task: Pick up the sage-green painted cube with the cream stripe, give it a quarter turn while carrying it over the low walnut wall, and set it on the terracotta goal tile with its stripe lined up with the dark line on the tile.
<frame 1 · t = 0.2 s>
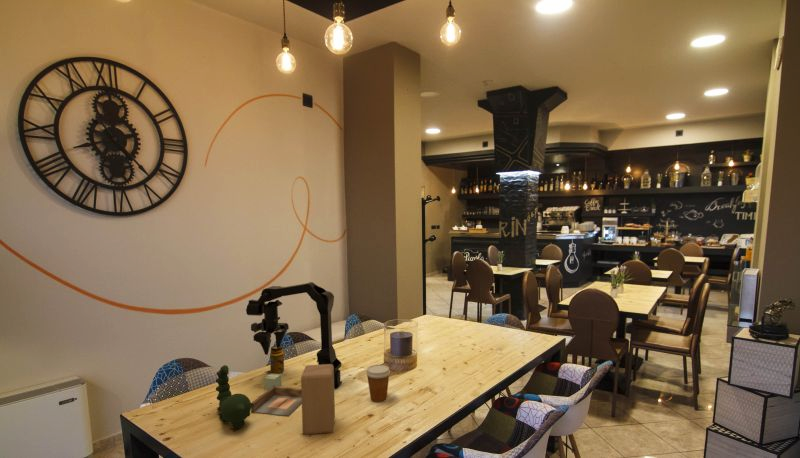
hand: (272, 351, 174), 14 cm above the table, tool pointing down, fingers open, 9 cm apart
wooden block: (319, 427, 136), on the table
disposable coffee cup: (378, 399, 156), on the table
condiment: (275, 373, 185), on the table
cube: (273, 387, 168), on the table
arena: (281, 405, 152), on the table
toy figurine: (232, 421, 141), on the table
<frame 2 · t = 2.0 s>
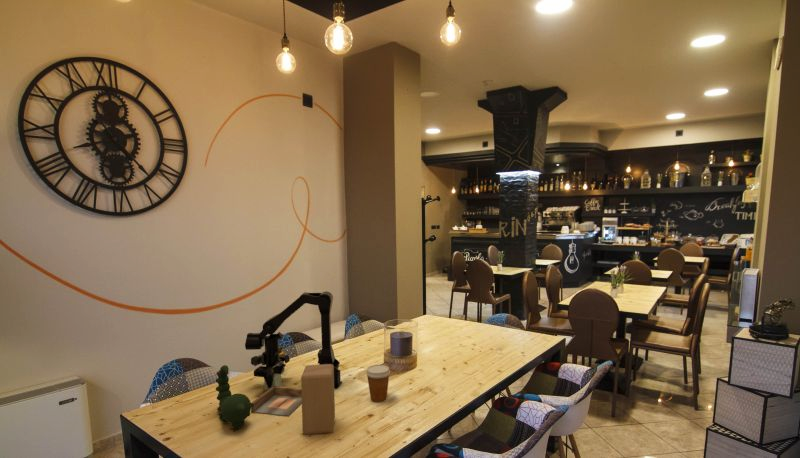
hand: (273, 385, 168), 1 cm above the table, tool pointing down, fingers closed on cube, 5 cm apart
cube: (273, 387, 168), on the table, touching gripper
everything else where it was.
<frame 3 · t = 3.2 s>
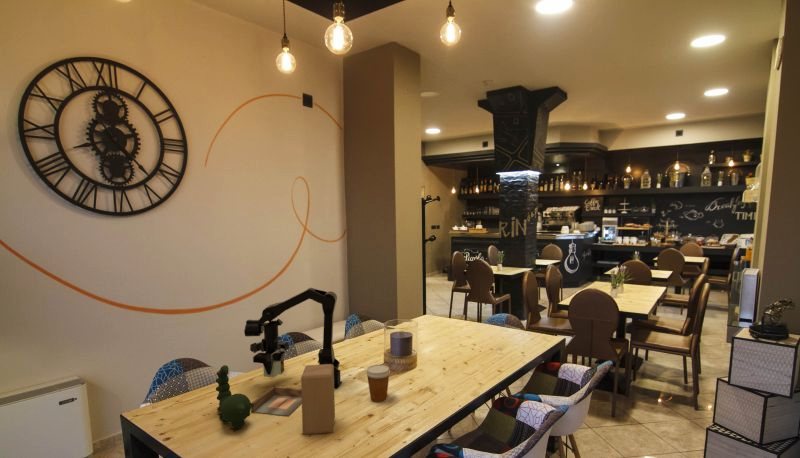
hand: (272, 372, 168), 7 cm above the table, tool pointing down, fingers closed on cube, 5 cm apart
cube: (272, 374, 168), point 6 cm above the table, touching gripper
everything else where it was.
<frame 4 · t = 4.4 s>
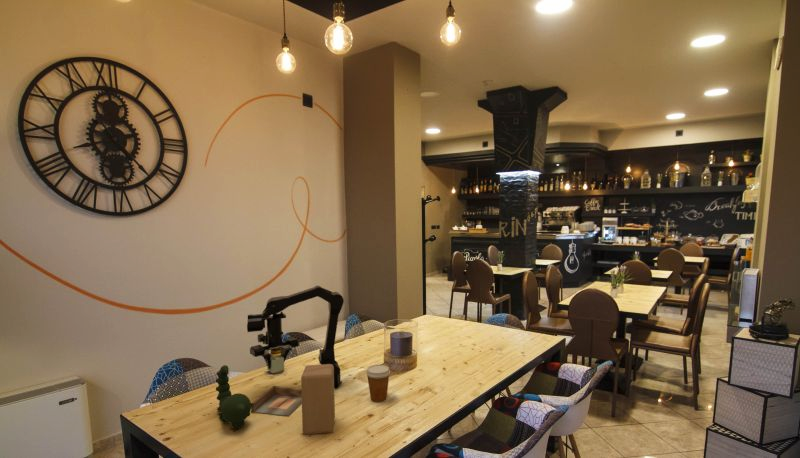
hand: (275, 367, 162), 11 cm above the table, tool pointing down, fingers closed on cube, 5 cm apart
cube: (275, 369, 162), point 10 cm above the table, touching gripper
everything else where it was.
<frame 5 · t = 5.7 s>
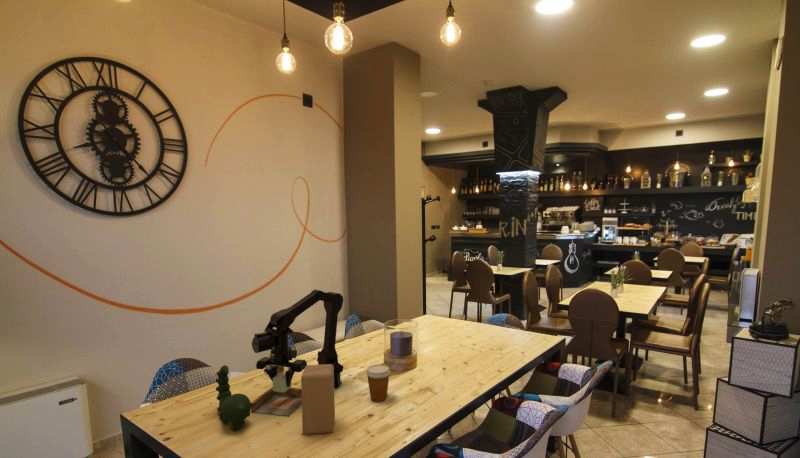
hand: (282, 386, 153), 7 cm above the table, tool pointing down, fingers closed on cube, 5 cm apart
cube: (282, 388, 153), point 6 cm above the table, touching gripper
everything else where it was.
when the fingers open (3 cm above the table, at t = 6.8 s): cube drops 1 cm, resting on arena.
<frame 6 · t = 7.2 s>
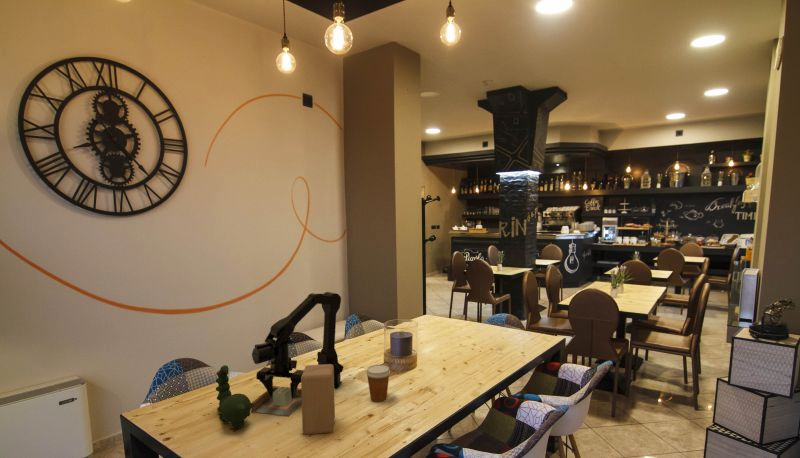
hand: (282, 396, 153), 3 cm above the table, tool pointing down, fingers open, 9 cm apart
cube: (282, 403, 153), point 1 cm above the table, touching arena
everything else where it was.
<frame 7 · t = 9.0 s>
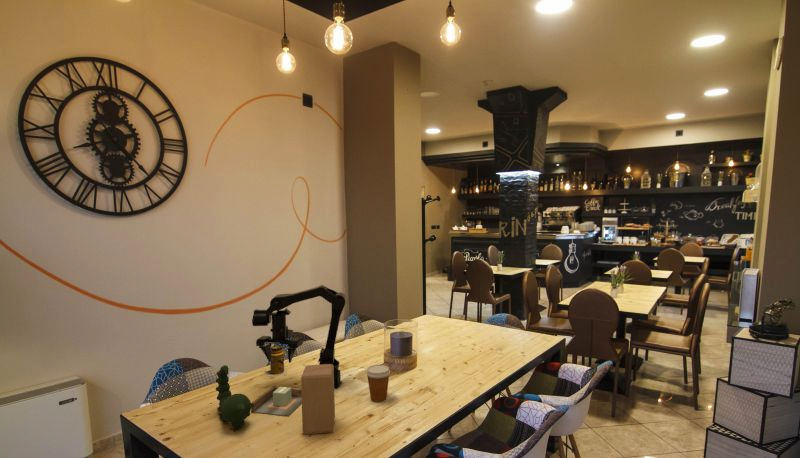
hand: (279, 361, 167), 11 cm above the table, tool pointing down, fingers open, 9 cm apart
nothing on the table moved.
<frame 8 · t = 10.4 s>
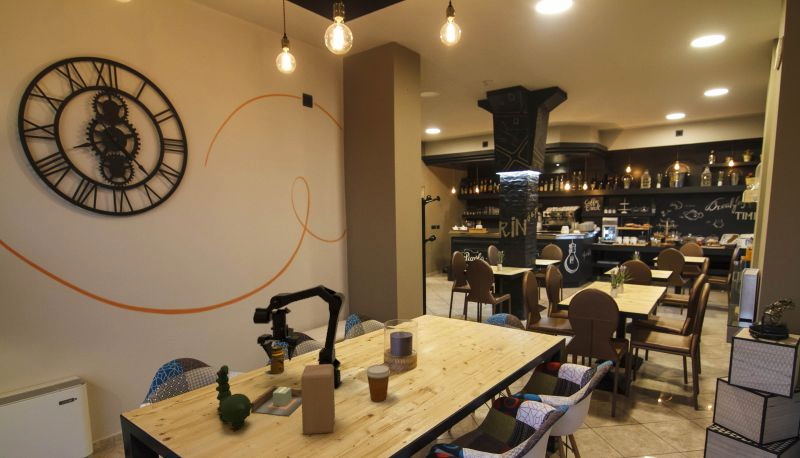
hand: (280, 359, 170), 11 cm above the table, tool pointing down, fingers open, 9 cm apart
nothing on the table moved.
at the end: cube 0.0 cm from the target spot on the arena, point 0.6 cm above the arena's base; cube tilted 0°; the gripper is holding nothing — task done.
